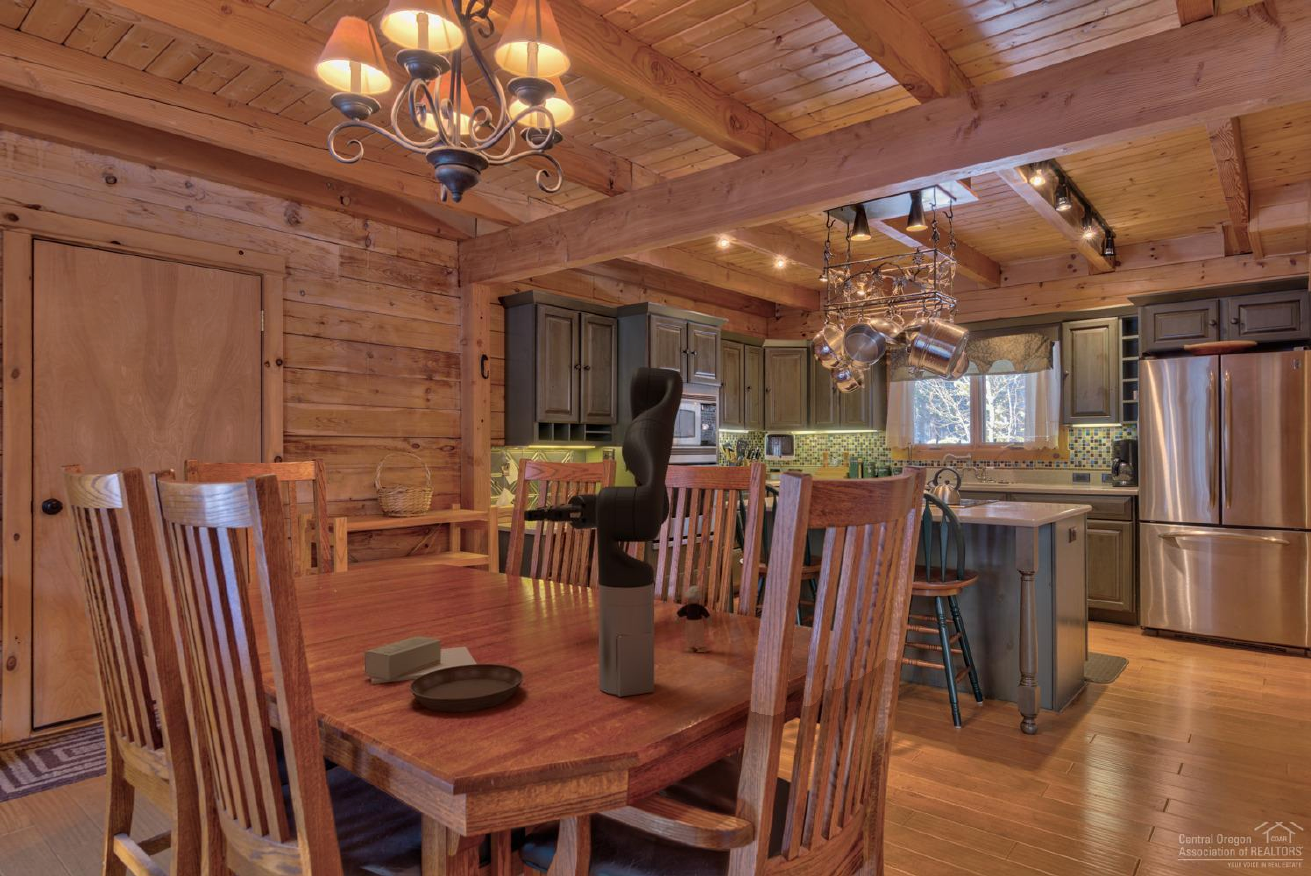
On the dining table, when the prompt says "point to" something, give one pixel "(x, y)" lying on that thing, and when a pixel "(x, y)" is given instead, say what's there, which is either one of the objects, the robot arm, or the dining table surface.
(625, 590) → the robot arm
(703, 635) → the grandmother figurine
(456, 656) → the mat
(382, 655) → the skincare box
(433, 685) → the plant saucer
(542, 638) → the dining table surface
